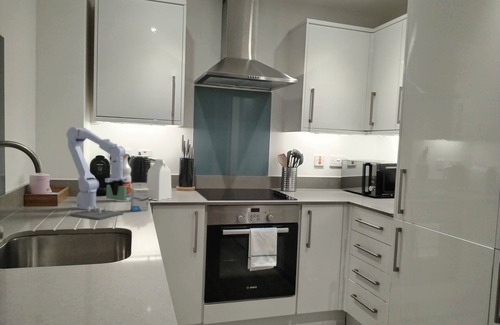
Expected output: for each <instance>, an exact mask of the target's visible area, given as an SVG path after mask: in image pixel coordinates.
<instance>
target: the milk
mask: <svg viewBox="0 0 500 325" xmlns="http://www.w3.org/2000/svg"><path fill="white" fill-rule="evenodd" d="M146 183H147V185H146V188H147V189H149V198H151V199H157V200H161V199H167V198H172V195H173V194H172V172H171V169H170V167H168V165H166V162H165V159H159V158H156V159H155V161H154V162H153V164H152V165H151V166H150V167H149V169H148V170H147V178H146Z"/></svg>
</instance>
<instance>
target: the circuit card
mask: <svg viewBox="0 0 500 325" xmlns="http://www.w3.org/2000/svg"><path fill="white" fill-rule="evenodd" d="M126 189H127V187H123V186H118V191H117V195H113V193H112V189H111V187H110V185H109V184H107V185H106V195H105V196H106V197H105V198H106V199H110V200H115V199H116V200H126Z"/></svg>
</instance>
